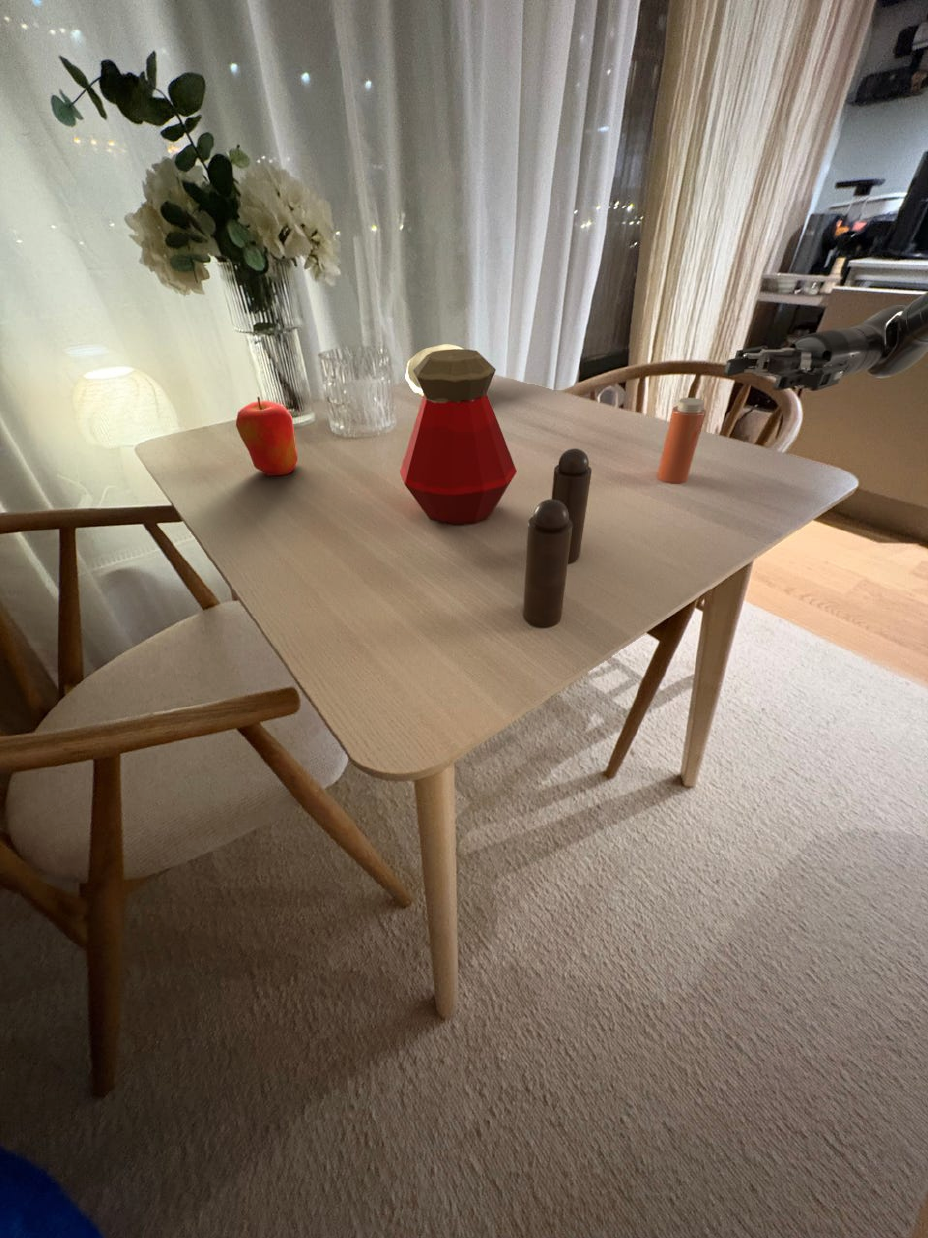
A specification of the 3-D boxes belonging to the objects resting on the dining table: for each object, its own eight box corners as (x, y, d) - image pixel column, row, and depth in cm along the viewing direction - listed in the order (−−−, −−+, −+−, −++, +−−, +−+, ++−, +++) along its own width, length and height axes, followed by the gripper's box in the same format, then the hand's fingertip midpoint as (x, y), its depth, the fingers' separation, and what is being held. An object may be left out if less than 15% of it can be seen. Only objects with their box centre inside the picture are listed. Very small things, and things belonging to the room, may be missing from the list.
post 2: (581, 548, 61) (597, 444, 53) (576, 566, 58) (591, 458, 50) (550, 544, 62) (559, 440, 54) (543, 561, 60) (552, 454, 51)
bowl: (398, 410, 104) (392, 358, 97) (421, 390, 114) (417, 342, 107) (466, 415, 100) (464, 361, 94) (483, 394, 110) (483, 344, 104)
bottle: (396, 535, 65) (373, 371, 52) (411, 489, 75) (395, 343, 62) (515, 536, 64) (522, 369, 51) (514, 489, 74) (520, 340, 61)
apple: (245, 469, 83) (220, 396, 76) (293, 456, 87) (273, 385, 79) (263, 486, 78) (238, 409, 70) (312, 471, 82) (294, 397, 74)
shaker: (687, 472, 77) (708, 397, 69) (687, 485, 73) (709, 407, 66) (657, 469, 78) (675, 395, 70) (656, 481, 75) (674, 404, 67)
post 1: (564, 607, 53) (578, 493, 44) (557, 631, 50) (571, 515, 41) (527, 600, 54) (535, 488, 45) (518, 623, 51) (524, 508, 42)
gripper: (792, 322, 78) (719, 336, 73) (885, 338, 69) (808, 356, 64) (774, 372, 83) (704, 389, 78) (858, 395, 74) (785, 415, 69)
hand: (751, 374), depth 71 cm, fingers open, 8 cm apart
